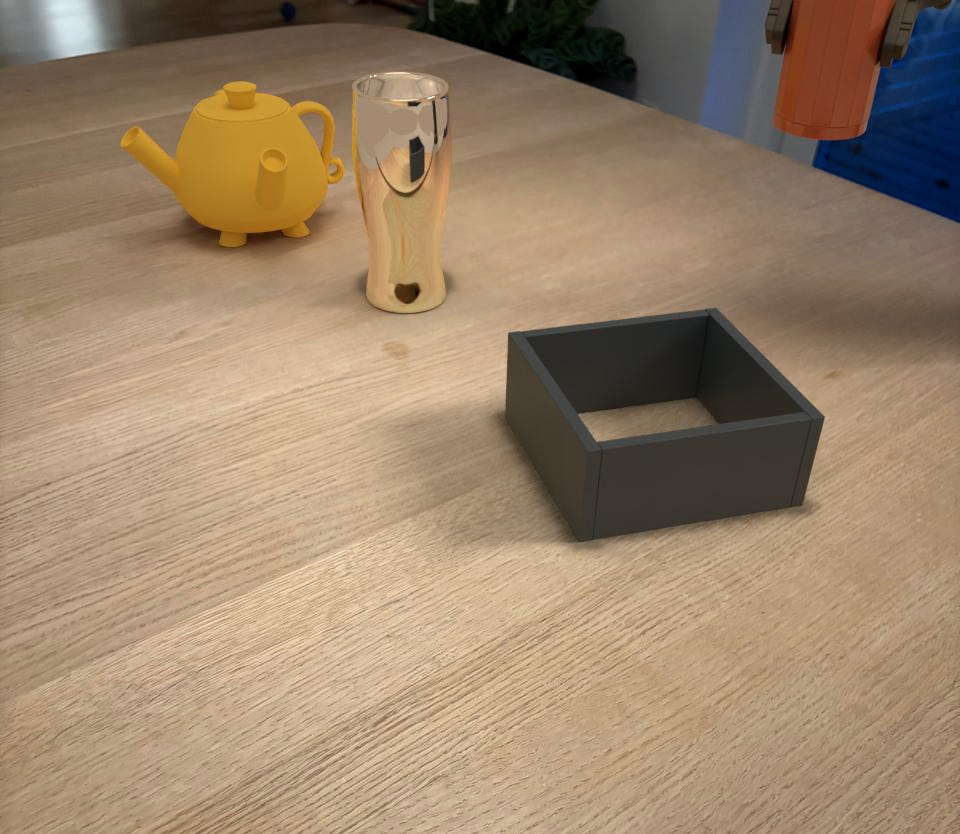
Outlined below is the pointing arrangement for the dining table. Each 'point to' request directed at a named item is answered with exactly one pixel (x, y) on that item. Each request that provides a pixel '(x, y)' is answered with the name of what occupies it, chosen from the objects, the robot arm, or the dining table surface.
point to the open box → (668, 455)
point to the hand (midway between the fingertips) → (831, 53)
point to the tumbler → (831, 67)
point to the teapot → (245, 163)
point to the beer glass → (403, 184)
